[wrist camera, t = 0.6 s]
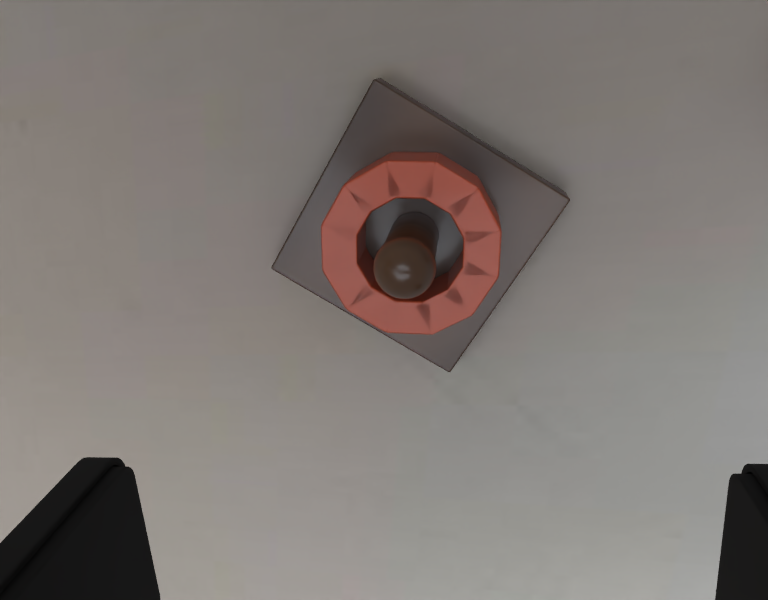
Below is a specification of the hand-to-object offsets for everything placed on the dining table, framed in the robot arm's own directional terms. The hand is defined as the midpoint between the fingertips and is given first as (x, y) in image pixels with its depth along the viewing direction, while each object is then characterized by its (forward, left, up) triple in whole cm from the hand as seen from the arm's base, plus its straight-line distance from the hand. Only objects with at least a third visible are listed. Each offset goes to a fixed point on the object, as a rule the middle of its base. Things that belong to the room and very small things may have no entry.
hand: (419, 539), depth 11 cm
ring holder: (-1, -1, -20) cm, 20 cm away
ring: (-1, -1, -19) cm, 19 cm away
